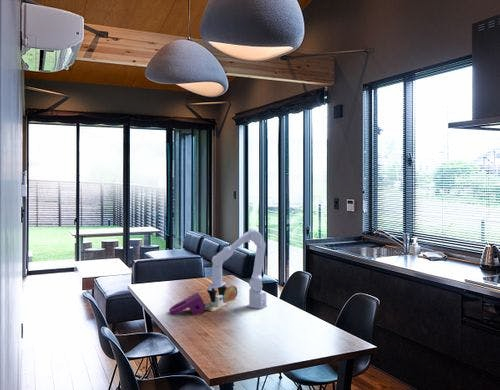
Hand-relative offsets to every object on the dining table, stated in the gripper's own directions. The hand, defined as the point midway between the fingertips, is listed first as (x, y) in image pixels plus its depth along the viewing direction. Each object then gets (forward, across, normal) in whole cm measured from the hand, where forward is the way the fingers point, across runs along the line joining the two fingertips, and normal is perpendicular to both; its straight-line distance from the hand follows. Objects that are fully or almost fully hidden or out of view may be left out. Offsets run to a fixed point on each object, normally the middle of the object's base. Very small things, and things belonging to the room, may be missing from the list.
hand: (217, 300), depth 262 cm
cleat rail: (+4, 0, 0) cm, 4 cm away
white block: (+2, 0, 0) cm, 3 cm away
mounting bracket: (+4, +17, -8) cm, 19 cm away
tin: (+4, -17, -5) cm, 18 cm away
